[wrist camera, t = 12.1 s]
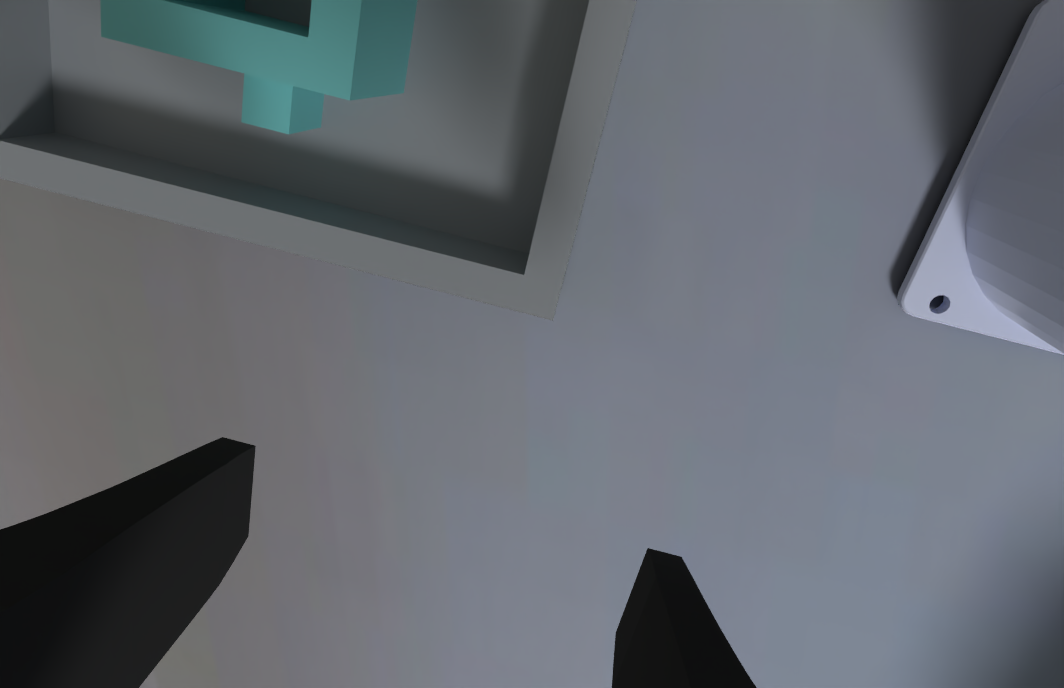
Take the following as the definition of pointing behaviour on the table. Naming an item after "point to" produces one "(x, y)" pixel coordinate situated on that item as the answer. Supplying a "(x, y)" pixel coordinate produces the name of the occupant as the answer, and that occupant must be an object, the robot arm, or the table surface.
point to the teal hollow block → (279, 50)
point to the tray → (337, 141)
